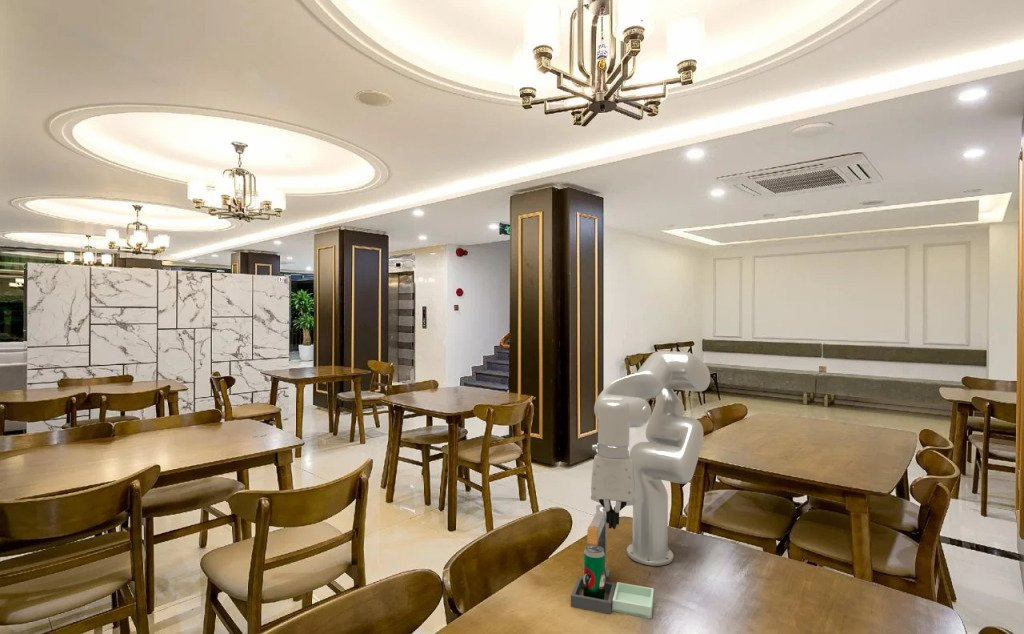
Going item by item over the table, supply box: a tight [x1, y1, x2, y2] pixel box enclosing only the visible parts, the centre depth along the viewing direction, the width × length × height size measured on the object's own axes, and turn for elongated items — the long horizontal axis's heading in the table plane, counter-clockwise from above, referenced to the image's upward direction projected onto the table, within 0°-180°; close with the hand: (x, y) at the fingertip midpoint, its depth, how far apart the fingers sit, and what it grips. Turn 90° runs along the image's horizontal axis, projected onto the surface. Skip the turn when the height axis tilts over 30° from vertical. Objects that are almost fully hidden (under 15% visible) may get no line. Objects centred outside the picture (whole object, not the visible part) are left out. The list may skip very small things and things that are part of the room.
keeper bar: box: [586, 504, 606, 545], centre depth 123 cm, size 17×3×3 cm, turn 161°
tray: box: [611, 581, 655, 620], centre depth 116 cm, size 8×8×2 cm
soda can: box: [582, 544, 606, 600], centre depth 118 cm, size 5×5×12 cm
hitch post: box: [597, 522, 611, 582], centre depth 127 cm, size 9×4×14 cm, turn 161°
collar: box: [570, 576, 617, 615], centre depth 118 cm, size 9×9×2 cm
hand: (612, 526), depth 122 cm, fingers closed
